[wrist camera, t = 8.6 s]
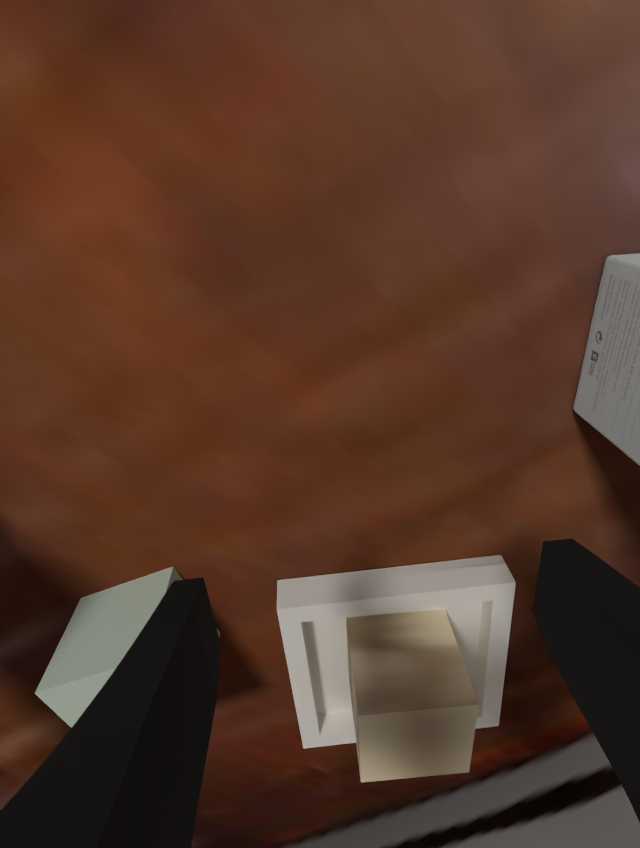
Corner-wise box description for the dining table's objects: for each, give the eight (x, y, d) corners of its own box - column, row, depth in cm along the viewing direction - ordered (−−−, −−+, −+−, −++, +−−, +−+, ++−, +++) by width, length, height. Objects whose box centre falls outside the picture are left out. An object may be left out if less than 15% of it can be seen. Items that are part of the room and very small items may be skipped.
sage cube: (135, 658, 26) (103, 758, 22) (81, 596, 24) (34, 693, 20) (220, 631, 26) (206, 728, 21) (173, 565, 24) (146, 657, 19)
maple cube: (349, 681, 27) (360, 782, 23) (345, 617, 25) (358, 715, 20) (439, 673, 27) (468, 772, 23) (444, 608, 25) (478, 704, 20)
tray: (302, 716, 29) (303, 748, 28) (277, 580, 24) (276, 609, 23) (487, 695, 29) (498, 725, 28) (500, 554, 24) (515, 582, 23)
